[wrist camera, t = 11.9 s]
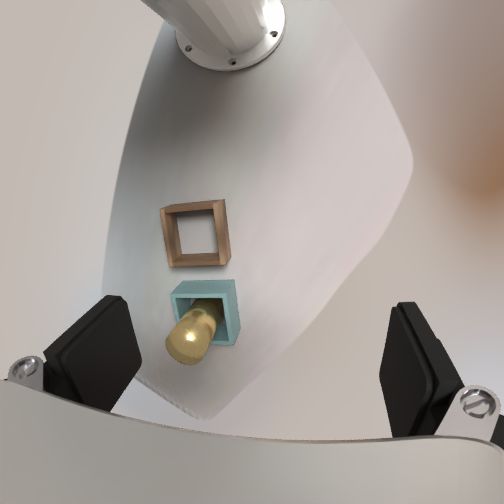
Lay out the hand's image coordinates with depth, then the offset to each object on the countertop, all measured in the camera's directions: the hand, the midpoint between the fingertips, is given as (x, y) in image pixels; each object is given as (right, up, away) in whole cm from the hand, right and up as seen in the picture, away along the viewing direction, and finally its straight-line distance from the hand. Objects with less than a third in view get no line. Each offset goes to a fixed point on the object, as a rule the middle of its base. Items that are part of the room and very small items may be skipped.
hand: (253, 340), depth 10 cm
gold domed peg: (-5, -4, +29) cm, 29 cm away
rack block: (-5, -4, +29) cm, 29 cm away
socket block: (-6, +5, +26) cm, 27 cm away
